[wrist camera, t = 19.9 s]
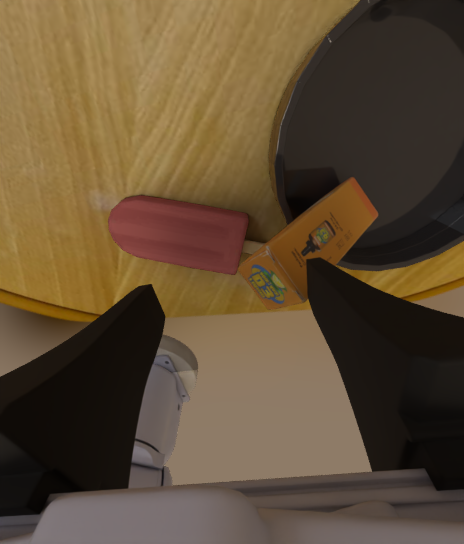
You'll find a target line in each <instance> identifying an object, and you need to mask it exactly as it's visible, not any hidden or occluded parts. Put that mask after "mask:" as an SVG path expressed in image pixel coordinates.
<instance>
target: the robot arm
mask: <svg viewBox="0 0 464 544" xmlns="http://www.w3.org/2000/svg"><path fill="white" fill-rule="evenodd" d="M306 268H307V293H308V299H309V302H310V305H311V308H312V311H313V314H314V316H315V319H316V321H317V323H318V325H319V327H320V329H321V331H322V333H323V335H324V337H325V339H326V342H327V344H328V346H329V348H330V350H331V352H332V354H333V356H334V359H335V361H336V363H337V366H338V368H339V371H340V374H341V377H342V380H343V382H344V385H345V388H346V391H347V394H348V397H349V400H350V403H351V406H352V409H353V411H354V415H355V418H356V421H357V424H358V427H359V430H360V433H361V436H362V439H363V443H364V446H365V449H366V452H367V456H368V459H369V462H370V465H371V469H372V472H363V473H348V474H333V475H318V476H304V477H291V478H290V477H289V478H275V479H261V480H246V481H231V482H217V483H202V484H187V485H173V486H172V477H171V474H170V471H169V468H168V467H166V466H164V465H165V463H166V462H167V461H168V459H169V458H170V456H171V454H172V452H173V450H174V447H175V442H176V437H177V431H178V426H179V420H180V415H181V409H182V404H183V402H188V401H189V400H190V397H189V395H188V393H187V391H186V389H185V387H184V385H183V382H182V380H181V378H180V376H179V374H178V372H177V370H176V368H175V366H174V364H173V362H172V360H171V358H170V356H169V355H159V356H156V353H157V350H158V347H159V344H160V341H161V338H162V334H163V329H164V323H165V314H164V312H163V310H162V307H161V305H160V303H159V300H158V298H157V296H156V294H155V291H154V289H153V287H152V284H149V285H142V286H139V287H137V288H135V289H134V290H133V291H131V292H130V293H129V294H127V295H126V296H125V297H124V298H122V299H121V300H120V301H119V302H118V303H116V304H115V305H114V306H113V307H111V308H110V309H109V310H108V311H106V312H105V313H104V314H103V315H101V316H100V317H99V318H97V319H96V320H95V321H93V322H92V323H91V324H90V325H88V326H87V327H86V328H84V329H83V330H81V331H80V332H78V333H77V334H75V335H74V336H72V337H71V338H69V339H68V340H66V341H65V342H63V343H62V344H60V345H58V346H57V347H55V348H53V349H52V350H50V351H48V352H46V353H45V354H43V355H41V356H40V357H38V358H36V359H34V360H32V361H31V362H29V363H27V364H25V365H23V366H21V367H19V368H17V369H15V370H13V371H11V372H9V373H7V374H5V375H3V376H1V377H0V544H464V318H463V317H459V316H455V315H451V314H447V313H444V312H440V311H437V310H433V309H430V308H426V307H424V306H421V305H418V304H414V303H411V302H409V301H406V300H403V299H400V298H398V297H395V296H393V295H390V294H388V293H385V292H383V291H381V290H378V289H376V288H374V287H372V286H370V285H368V284H366V283H364V282H362V281H360V280H358V279H356V278H355V277H353V276H351V275H349V274H347V273H346V272H344V271H342V270H341V269H339V268H337V267H336V266H334V265H333V264H331V263H329V262H328V261H326V260H324V259H323V258H321V257H318V258H312V259H306Z"/></svg>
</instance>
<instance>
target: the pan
mask: <svg viewBox="0 0 464 544" xmlns="http://www.w3.org/2000/svg"><path fill="white" fill-rule="evenodd" d="M269 174H270V179H271V186H272V191H273V193H274V196H275V198H276V201H277V203H278V206H279V208H280V211H281V213H282V215H283V217H284V219H285V221H286V223H287V225H289V224H290V223H291V222H293V221H294V220H295V219H296V218H297V217H299V216H300V215H301V214H302V213H304V212H305V211H306V210H307V209H308V208H310V207H311V206H312V205H313V204H315V203H316V202H317V201H318V200H320V199H321V198H322V197H324V196H325V195H326V194H328V193H329V192H330V191H332V190H333V189H335V188H336V187H337V186H339V185H340V184H342V183H343V182H345V181H346V180H347V179H349V178H350V177H354V178H355V179H356V181H357V183H358V184H359V185H360V187H361V188H362V190H363V191H364V193H365V194H366V196H367V197H368V199H369V200H370V202H371V203H372V205H373V206H374V207H375V209H376V210H377V212H378V217H377V218H376V219H375V220H374V221H373V222H372V224H371V225H370V226H369V227H368V228H367V229H366V230H365V232H364V233H363V234H362V235H361V236H360V237H359V238H358V240H357V241H356V242H355V243H354V244H353V246H352V247H351V248H350V249H349V250H348V251H347V253H346V254H345V255H344V256H343V257H342V258H341V260H340V261H339V262H338V263H337V264H336V265H338V266H341V267H344V268H347V269H351V270H366V271H382V270H388V269H395V268H401V267H406V266H410V265H413V264H415V263H418V262H421V261H424V260H427V259H430V258H432V257H435V256H437V255H439V254H441V253H443V252H445V251H447V250H448V249H450V248H452V247H454V246H456V245H457V244H459V243H461V242H463V241H464V0H360V1H359V2H358V3H357V4H356V5H355V6H354V7H353V8H352V9H351V10H350V11H349V12H348V13H347V14H346V15H345V16H343V17H342V18H341V19H340V20H339V21H338V22H337V23H336V24H335V25H334V27H333V28H332V29H331V30H330V31H329V32H328V33H327V34H326V35H325V36H323V38H322V39H321V40H320V41H319V42H318V43H317V44H316V45H315V46H314V47H313V48H312V49H311V50H310V51H309V53H308V54H307V56H306V57H305V59H304V61H303V62H302V63H301V65H300V66H299V68H298V69H297V70H296V72H295V74H294V76H293V78H292V79H291V81H290V83H289V84H288V86H287V88H286V90H285V93H284V95H283V97H282V100H281V102H280V104H279V107H278V110H277V113H276V117H275V120H274V123H273V128H272V133H271V138H270V146H269Z"/></svg>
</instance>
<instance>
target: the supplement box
mask: <svg viewBox="0 0 464 544" xmlns="http://www.w3.org/2000/svg"><path fill="white" fill-rule="evenodd" d="M377 217H378V212H377V210H376V209H375V207H374V206H373V205H372V203H371V202H370V200H369V199H368V197H367V196H366V194H365V193H364V191H363V190H362V188H361V187H360V185H359V184H358V183H357V181H356V179H355V178H354V177H350V178H349V179H347V180H346V181H345V182H343V183H342V184H340V185H339V186H337V187H336V188H335V189H333V190H332V191H330V192H329V193H328V194H326V195H325V196H324V197H322V198H321V199H320V200H318V201H317V202H316V203H315V204H313V205H312V206H311V207H310V208H308V209H307V210H306V211H305V212H304V213H302V214H301V215H300V216H299V217H297V218H296V219H295V220H294V221H293V222H291V223H290V224H289V225H288V226H286V227H285V228H284V229H283V230H282V231H280V232H279V233H278V234H277V235H275V236H274V237H273V238H272V239H271V240H269V241H268V242H267V243H266V244H265V245H263V246H262V247H261V248H260V249H258V250H257V251H256V252H255V253H254V254H252V255H251V256H250V257H249V258H248V259H246V260H245V261H244V262H243V263H242V264H241V265H240V266H239V267H238V270H239V272H240V273H241V274H242V276H243V277H244V278H245V280H246V281H247V282H248V284H249V285H250V286H251V287H252V289H253V290H254V291H255V293H256V294H257V295H258V297H259V298H260V299H261V301H262V302H263V303H264V305H265V306H266V307H267V309H269V310H271V309H277V308H282V307H286V306H290V305H295V304H299V303H303V302H305V301H306V300H307V299H308V293H307V268H306V259H312V258H318V257H321V258H323V259H324V260H326V261H328V262H329V263H331V264H333V265H334V266H335V265H336V264H337V263H338V262H339V261H340V260H341V258H342V257H343V256H344V255H345V254H346V253H347V251H348V250H349V249H350V248H351V247H352V246H353V244H354V243H355V242H356V241H357V240H358V238H359V237H360V236H361V235H362V234H363V233H364V232H365V230H366V229H367V228H368V227H369V226H370V225H371V224H372V222H373V221H374V220H375V219H376V218H377Z"/></svg>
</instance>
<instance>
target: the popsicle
mask: <svg viewBox="0 0 464 544" xmlns="http://www.w3.org/2000/svg"><path fill="white" fill-rule="evenodd" d="M108 223H109V231H110V233H111V236H112V238H113V240H114V241H115V242H116V243H117V244H118V245H119V247H120V248H121V249H122V250H124V251H126V252H128V253H130V254H132V255H134V256H136V257H139V258H144V259H150V260H155V261H160V262H165V263H170V264H175V265H180V266H185V267H190V268H196V269H202V270H208V271H213V272H219V273H225V274H231V275H235V274H236V272H237V269H238V265H239V261H240V257H241V252H242V253H248V254H254V253H255V252H256V251H257V250H258V249H260V248H261V247H262V246H263V245H265V244H266V243H261V242H256V241H251V240H245V236H246V231H247V227H248V223H249V219H248V214H246V213H243V212H237V211H232V210H226V209H221V208H216V207H210V206H205V205H199V204H193V203H187V202H181V201H175V200H168V199H162V198H156V197H150V196H143V195H139V196H134V197H129V198H125V199H124V200H122V201H121V202H120V203H119V204H118V205H116V206H115V207H114V208H113V209H112V211H111V214H110V216H109V219H108Z"/></svg>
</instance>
